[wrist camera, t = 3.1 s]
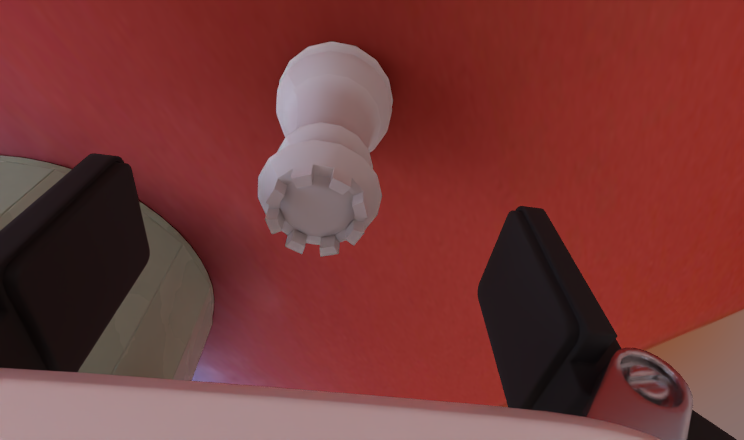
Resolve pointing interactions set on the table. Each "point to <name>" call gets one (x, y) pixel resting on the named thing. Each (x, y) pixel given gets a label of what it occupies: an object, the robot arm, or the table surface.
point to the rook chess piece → (326, 147)
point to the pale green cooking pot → (134, 289)
